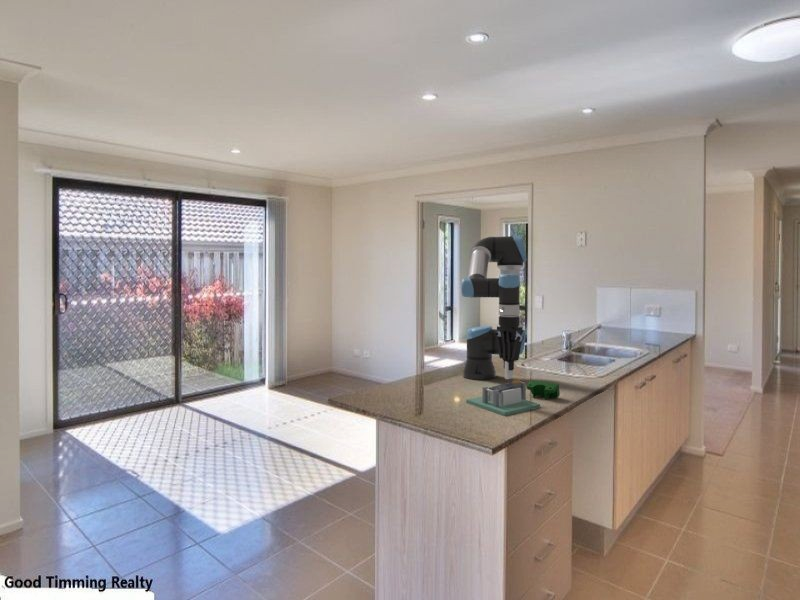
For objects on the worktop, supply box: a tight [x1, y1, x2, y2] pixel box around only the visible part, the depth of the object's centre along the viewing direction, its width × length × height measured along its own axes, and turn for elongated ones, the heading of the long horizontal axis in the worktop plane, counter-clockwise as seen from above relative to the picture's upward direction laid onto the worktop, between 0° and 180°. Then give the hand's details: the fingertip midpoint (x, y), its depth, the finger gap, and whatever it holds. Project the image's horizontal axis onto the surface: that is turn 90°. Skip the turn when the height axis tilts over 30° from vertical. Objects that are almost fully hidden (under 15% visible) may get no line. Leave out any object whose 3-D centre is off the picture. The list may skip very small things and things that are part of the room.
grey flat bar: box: [488, 379, 522, 392], centre depth 186 cm, size 14×4×2 cm, turn 123°
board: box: [465, 381, 541, 417], centre depth 186 cm, size 18×20×8 cm
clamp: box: [526, 379, 561, 401], centre depth 196 cm, size 12×6×9 cm, turn 42°
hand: (508, 378), depth 187 cm, fingers closed
